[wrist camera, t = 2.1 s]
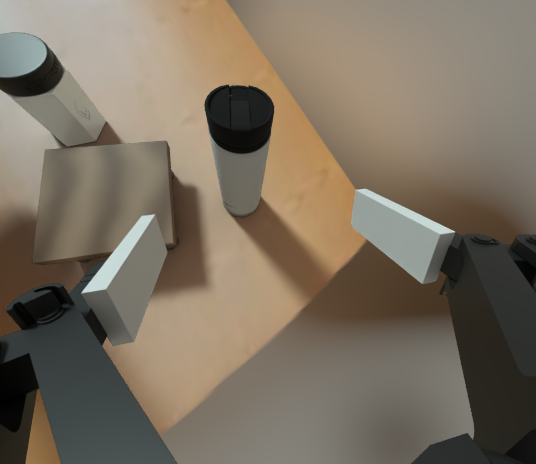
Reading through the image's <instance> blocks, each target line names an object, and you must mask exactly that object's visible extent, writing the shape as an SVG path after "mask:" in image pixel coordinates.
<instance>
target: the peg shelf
mask: <svg viewBox="0 0 536 464" xmlns="http://www.w3.org/2000/svg"><path fill="white" fill-rule="evenodd" d="M173 176H174V174H173V172H172V170H171V162H170V148H169V145H168V143H167V141H155V142H141V143H128V144H114V145H101V146H87V147H74V148H60V149H47V150H45V154H44V162H43V171H42V180H41V188H40V197H39V206H38V214H37V223H36V232H35V240H34V249H33V258H32V263H34V264H39V265H47V264H54V263H61V262H68V261H74V260H75V261H79V262H88V261H90V260H91V259H92V258H95V257H102V256H109V255H111V254H112V253H113V252H114V251H115V249H116V248H117V247H118V246H119V244H120V243H121V242H122V240H123V239H124V238H125V237H126V235H127V234H128V233H129V232H130V230H131V229H132V228H133V226H134V225H135V224H136V223H137V221H138V220H139V219H140V218H141V216H146V215H154V214H155V215H156V218H157V221H158V224H159V227H160V231H161V234H162V237H163V240H164V243H165V246H166V249H169V250H171V249H174V248H175V247H176V246H177V245H178V238H177V237H176V233H175V219H174V205H173V190H172V178H173Z"/></svg>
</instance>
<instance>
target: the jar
mask: <svg viewBox="0 0 536 464" xmlns="http://www.w3.org/2000/svg"><path fill="white" fill-rule="evenodd" d="M0 90H2V91H3V92H5V93H6V94H7V95H8V96H10V97H11V98H12V99H13V100H14V101H15V102H16V103H18V104H19V105H20V106H21V107H22V108H23V109H24V110H26V111H27V112H28V113H29V114H30V115H31V116H32V117H34V118H35V119H36V120H37V121H38V122H39V123H40V124H42V125H43V126H44V127H45V128H46V129H47V130H48V131H50V132H51V133H52V134H53V135H54V136H55V137H56V138H58V139H59V140H60V141H61V142H62V143H63V144H65V145H66V146H67V147H69V146H74V145H79V144H84V143H89V142H93V141H96V140H97V139H98V137H99V135H100V133H101V131H102V129H103V126H104V124H105V122H106V120H105V118H104V117H103V116H102V114H101V113H100V112H99V110H98V109H97V108H96V106H95V105H94V104H93V102H92V101H91V100H90V98H89V97H88V96H87V94H86V93H85V92H84V90H83V89H82V88H81V87H80V85H79V84H78V83H77V81H76V80H75V79H74V77H73V76H72V75H71V73H70V72H69V71H68V70H67V69H66V68H65V67H64V66H62V65H61V63H60V62H59V60H58V58H57V57H56V55H55V54H54V53H53V51H52V50H51V49H50V48H49V47H48V46H47V45H46V44H45V42H43V41H42V40H41V39H39V38H38V37H36V36H33V35H30V34H26V33H5V34H1V35H0Z"/></svg>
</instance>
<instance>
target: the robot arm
mask: <svg viewBox="0 0 536 464" xmlns="http://www.w3.org/2000/svg"><path fill="white" fill-rule="evenodd" d="M351 226H352V227H353V228H354V229H355V230H357V231H358V232H359V233H360V234H361V235H363V236H364V237H365V238H366V239H368V240H369V241H370V242H371V243H373V244H374V245H375V246H377V248H379V249H380V250H381V251H382V252H384V253H385V254H386V255H387V256H389V257H390V258H391V259H392V260H394V261H395V262H396V263H397V264H398V265H400V266H401V267H402V268H403V269H405V270H406V271H407V272H408V273H409V274H411V275H412V276H413V277H414V278H416V279H417V280H418V281H419V282H421V283H422V284H425V283H429V282H435V281H436V280H437V277H438V275H439V272H440V271H441V272H443V273H444V274H446V278H445V280H444V283H443V285H442V288H441V290H440V293H439V294H440V295H442V293H443V292H445V291H446V296H447V298H448V303H449V308H450V313H451V317H452V322H453V327H454V332H455V336H456V341H457V346H458V351H459V355H460V360H461V365H462V369H463V374H464V379H465V384H466V388H467V393H468V398H469V403H470V408H471V412H472V417H473V422H474V438H473V440H472V438H471V437H470V436H469V435H468V433H466V434H463V435H460V436H457V437H454V438H451V439H448V440H445V441H442V442H438V443H435V444H433V445H430V446H429V447H428V448H427V449H426V450H425V451H424V452H423V453H422V454H421V455H420V456H419V457H418V458H417V459H416V460H414V462H412V463H411V464H536V235H526V234H525V235H524V234H523V235H517V236H516V238H515V239H514V241H513V243H512V244H509V245H508V244H501V243H500V242H499V241H498V240H496V239H494V238H491V237H488V236H485V235H480V234H465V235H463V236H462V235H460V234H458V233H456V232H455V231H453V230H450V229H448V228H446V227H444V226H442V225H440V224H438V223H436V222H434V221H432V220H429V219H428V218H425V217H423V216H421V215H419V214H417V213H415V212H413V211H411V210H409V209H407V208H405V207H402V206H400V205H398V204H396V203H394V202H392V201H390V200H388V199H386V198H383V197H381V196H379V195H377V194H375V193H373V192H371V191H369V190H367V189H361V190H356V191H355V198H354V206H353V213H352V220H351ZM167 253H168V252H167V249H166V246H165V243H164V240H163V237H162V234H161V231H160V227H159V224H158V221H157V218H156V215H155V214H154V215H146V216H141V218H140V219H139V220H138V221H137V223H136V224H135V225H134V226H133V228H132V229H131V230H130V232H129V233H128V234H127V235H126V237H125V238H124V239H123V240H122V242H121V243H120V244H119V246H118V247H117V248H116V249H115V251H114V252H113V253H112V254H111V256H110V257H109V258H108V260H103V261H101V262H99V263H98V264H96V265H95V266H93V267H92V268H91V269H90V270H89V271H88V273H87V274H86V275H85V277H83V278H82V280H81V281H80V283H78V284H77V285H76V287H75V288H74V289H73V290H72V291H71V293H70V294H68V292H67V291H66V289H65V288H64V286H63V285H61V284H48V285H43V286H40V287H38V288H35V289H32V290H30V291H28V292H26V293H24V294H22V295H21V296H19V297H18V298H16V299H15V300H14V301H13V302H12V303H11V304H10V305H9V306H8V308H7V313H8V314H9V315H10V316H11V317H12V318H13V320H14V321H15V322H16V323H17V324H18V325H19V326H20V328H21V329H22V330H19V331H17V332H14V333H11V334H8V335H5V336H3V337H0V464H25V462H26V455H27V449H28V443H29V437H30V431H31V424H32V418H33V412H34V406H35V400H36V393H37V389H38V388H40V392H41V395H42V399H43V402H44V406H45V409H46V413H47V416H48V419H49V423H50V426H51V430H52V433H53V437H54V440H55V444H56V447H57V451H58V454H59V458H60V461H61V464H177V462H176V461H175V459H174V458H173V456H172V455H171V453H170V451H169V450H168V448H167V447H166V445H165V444H164V442H163V440H162V439H161V437H160V436H159V434H158V433H157V431H156V429H155V428H154V426H153V425H152V423H151V422H150V420H149V419H148V417H147V415H146V414H145V412H144V411H143V409H142V408H141V406H140V404H139V403H138V401H137V400H136V398H135V397H134V395H133V394H132V392H131V390H130V389H129V387H128V386H127V384H126V383H125V381H124V379H123V378H122V376H121V375H120V373H119V372H118V370H117V369H116V367H115V365H114V364H113V362H112V361H111V359H110V358H109V356H108V355H107V353H106V351H105V350H104V348H103V347H102V345H103V343H104V341H105V339H106V337H108V339H109V340H110V342H111V344H112V345H113V346H115V345H120V344H125V343H130V342H134V340H135V337H136V335H137V332H138V329H139V327H140V324H141V322H142V319H143V316H144V314H145V311H146V308H147V306H148V303H149V300H150V298H151V295H152V293H153V290H154V287H155V285H156V282H157V279H158V277H159V274H160V271H161V269H162V266H163V264H164V261H165V258H166V256H167Z"/></svg>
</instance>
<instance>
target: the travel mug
mask: <svg viewBox="0 0 536 464" xmlns="http://www.w3.org/2000/svg"><path fill="white" fill-rule="evenodd" d="M205 112H206V117H207V122H208V126H209V127H208V128H209V135H210V140H211V145H212V150H213V155H214V160H215V165H216V170H217V175H218V180H219V185H220V190H221V195H222V199H223V204H224V207H225V208H226V210H227V211H228V212H229V213H231V214H233V215H235V216H240V217H243V216H248V215H250V214H252V213H253V212H255V211H256V209H257V208H258V206H259V202H260V196H261V190H262V184H263V178H264V172H265V166H266V160H267V154H268V149H269V143H270V136H271V127H272V121H273V115H274V105H273V102H272V100H271V98H270V97H269V96H268V95H267V94H266V93H265V92H263V91H262V90H260V89H258V88H256V87H253V86H249V88H248V87H246V86H239V85H236V86H230V87H229V85H224V86H220V87H218V88H216V89H214V90H213V91H212V92H210V94H209V95H208V96H207V98H206V100H205Z"/></svg>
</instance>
